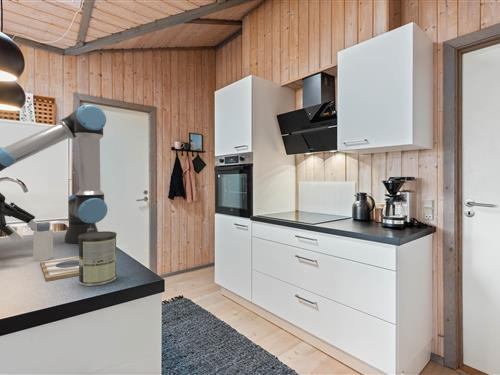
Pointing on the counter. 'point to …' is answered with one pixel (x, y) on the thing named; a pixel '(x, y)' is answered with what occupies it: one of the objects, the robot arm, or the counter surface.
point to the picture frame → (60, 268)
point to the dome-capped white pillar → (43, 242)
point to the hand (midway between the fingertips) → (32, 236)
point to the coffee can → (97, 258)
